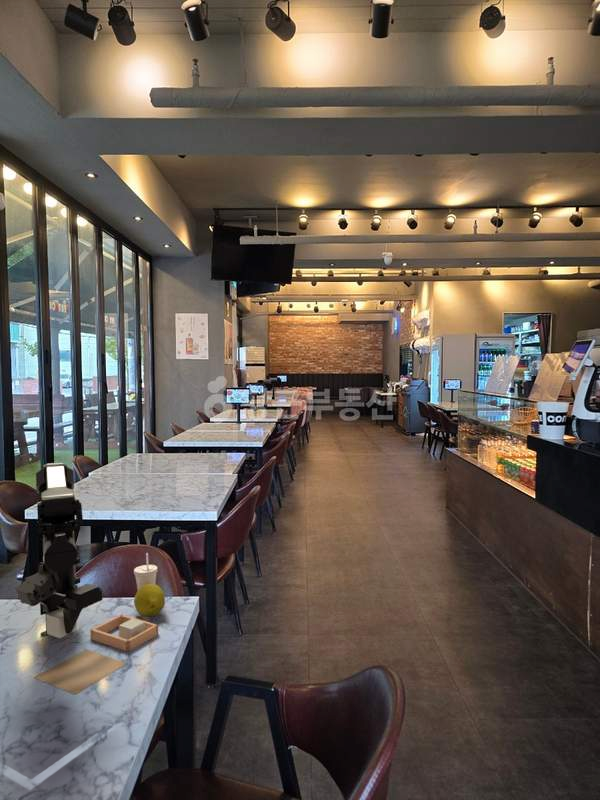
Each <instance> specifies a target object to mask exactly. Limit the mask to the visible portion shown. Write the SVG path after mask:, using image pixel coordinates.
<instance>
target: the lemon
mask: <svg viewBox="0 0 600 800" xmlns="http://www.w3.org/2000/svg"><path fill="white" fill-rule="evenodd" d="M165 598H166V596H165V593H164V591H163V589H162V588H161V587H160V586H159V585H158V584H156V583H155V584H146V585H144V586H142V587H141V588H140V589H139V590H138V589H137V592H136V593H135V596H134V599H133V600H134V601H133V603H134V607H135V609H136V612H137V613H138V614H139V615H141V616H142V617H146V618H148V617H151V618H152V617H154V616H156V615H158V614H159V613H161V611H162V610H163V609H164V607H165V605H166V604H165V603H166V599H165Z"/></svg>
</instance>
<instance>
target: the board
mask: <svg viewBox="0 0 600 800" xmlns="http://www.w3.org/2000/svg"><path fill="white" fill-rule="evenodd" d="M126 665H128V663H127V662H123V661H121V660H118V659H115V658H113V657H111V656H107V655H103V654H100V653H98V652H95V651H93V650H90V649H84V650H82V651H81V652H79V653H77V654H74V655H73V656H70V657H69V658H67V659H65V660H63V661H62V662H59V663H57V664H55V665H54V666H52V667H50V668H48V669H45V670H44V671H42V672H41V673H39V674H37V675H35V676H33V678H34V679H37V680H38V681H41V682H44V683H46V684H49V685H50V686H53V687H56V688H58V689H61V690H62V691H65V692H68V693H70V694H72V695H74V696H75V695H78V694H80V693H82V692H83V691H84V690H86V689H88V688H89V687H91V686H92V685H94V684H96V683H97V682H99V681H101V680H102V679H104V678H106V677H107V676H109V675H110V674H112V673H114V672H116V671H117V670H119V669H121V668H123V667H124V666H126Z"/></svg>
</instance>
